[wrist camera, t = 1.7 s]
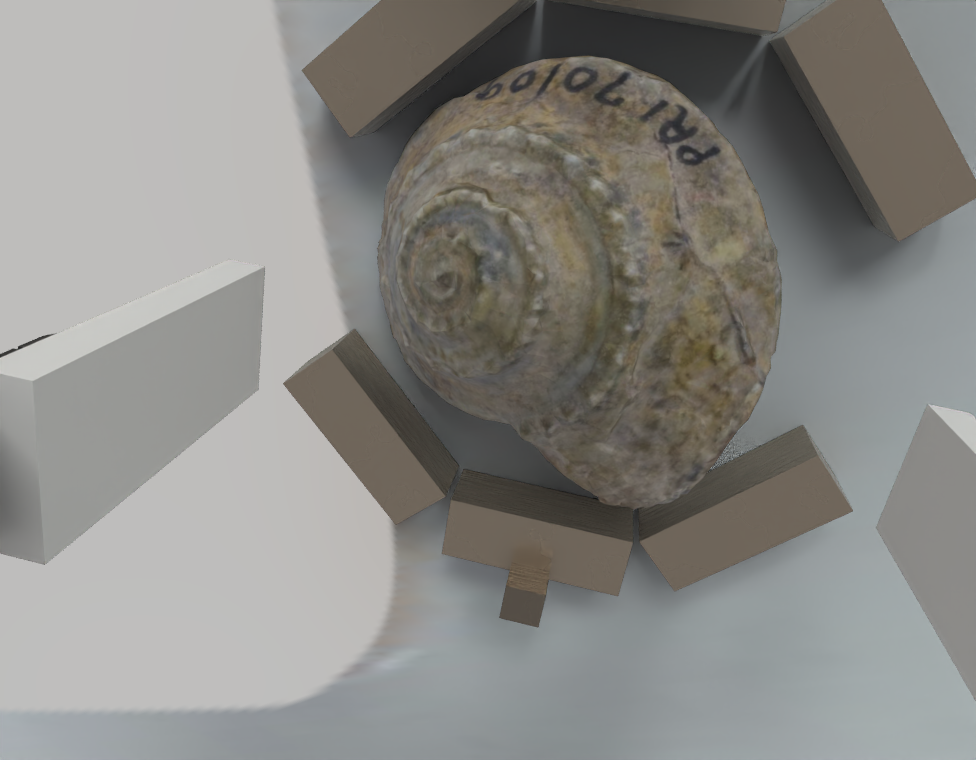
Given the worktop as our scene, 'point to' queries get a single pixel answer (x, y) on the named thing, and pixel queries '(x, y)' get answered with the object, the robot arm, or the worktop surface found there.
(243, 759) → the worktop surface
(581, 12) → the worktop surface
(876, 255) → the worktop surface
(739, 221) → the fossilized seashell
